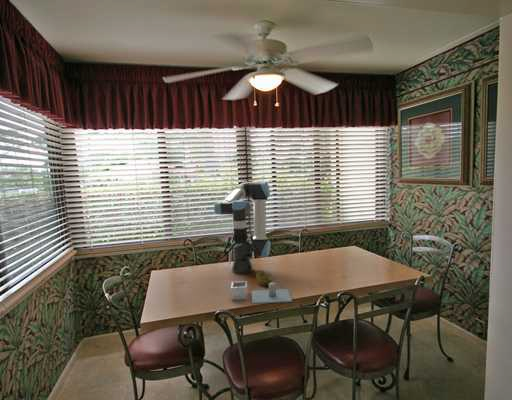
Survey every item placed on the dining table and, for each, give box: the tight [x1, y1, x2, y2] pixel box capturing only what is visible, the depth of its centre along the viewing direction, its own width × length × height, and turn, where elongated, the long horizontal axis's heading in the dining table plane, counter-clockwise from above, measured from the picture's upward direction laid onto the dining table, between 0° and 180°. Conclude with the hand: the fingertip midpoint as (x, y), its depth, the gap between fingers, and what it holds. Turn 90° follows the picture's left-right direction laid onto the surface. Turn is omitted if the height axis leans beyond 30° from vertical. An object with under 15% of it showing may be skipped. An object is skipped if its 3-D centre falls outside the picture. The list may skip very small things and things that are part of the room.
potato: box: [255, 269, 272, 287], centre depth 188 cm, size 8×13×8 cm, turn 11°
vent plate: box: [251, 281, 293, 305], centre depth 169 cm, size 16×22×8 cm
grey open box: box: [230, 280, 248, 301], centre depth 172 cm, size 9×9×7 cm
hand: (241, 263), depth 169 cm, fingers open, 13 cm apart
